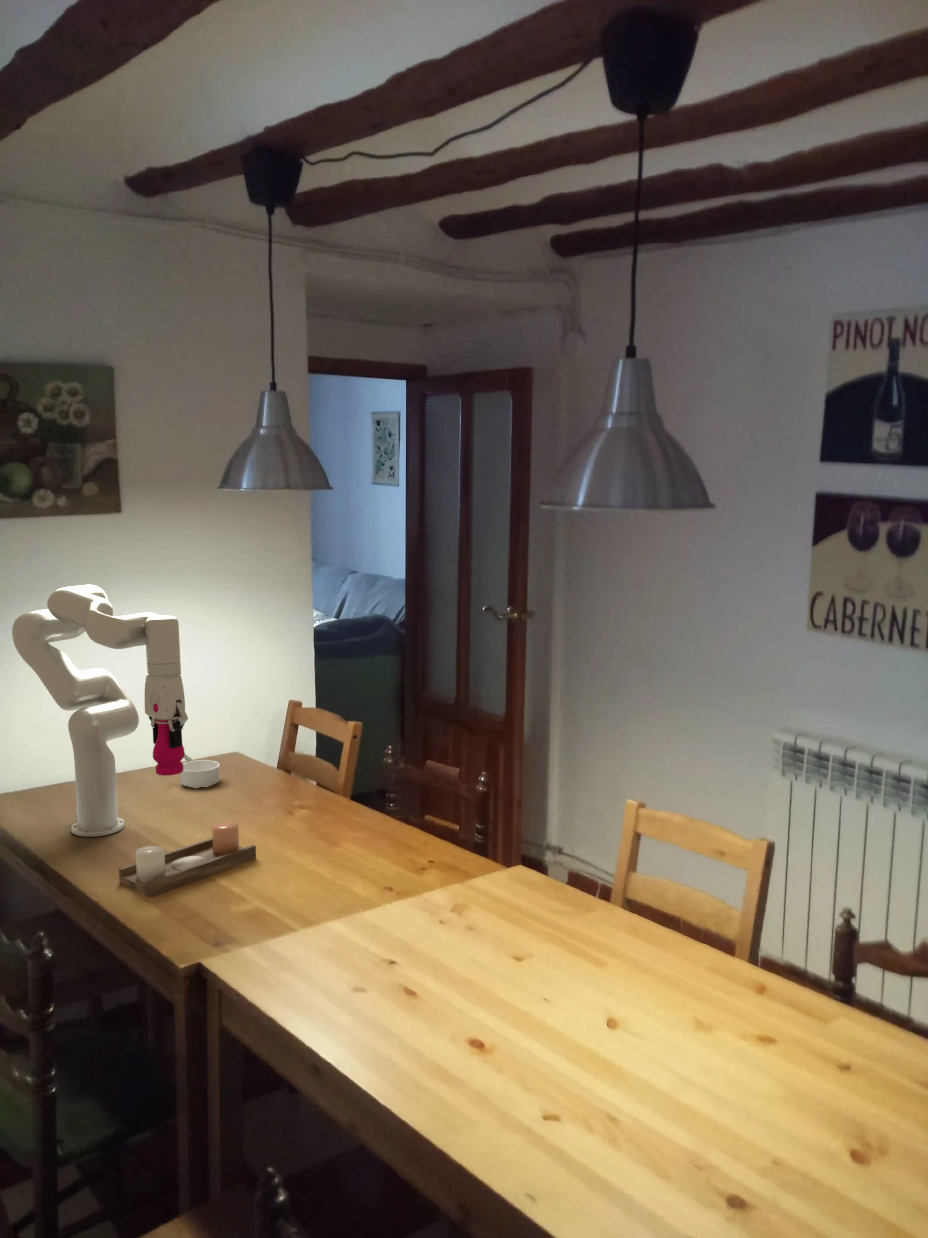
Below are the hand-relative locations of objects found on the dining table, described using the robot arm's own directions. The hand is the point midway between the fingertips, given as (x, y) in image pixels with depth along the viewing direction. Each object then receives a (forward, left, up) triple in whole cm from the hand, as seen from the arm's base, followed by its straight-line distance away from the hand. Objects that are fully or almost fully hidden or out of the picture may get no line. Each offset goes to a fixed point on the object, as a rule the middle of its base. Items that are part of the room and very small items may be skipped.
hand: (167, 744), depth 235 cm
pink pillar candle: (+14, +5, -24) cm, 29 cm away
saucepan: (-41, +36, -26) cm, 61 cm away
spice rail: (+14, -5, -26) cm, 30 cm away
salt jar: (+14, -15, -24) cm, 32 cm away
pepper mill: (0, 0, -7) cm, 7 cm away
